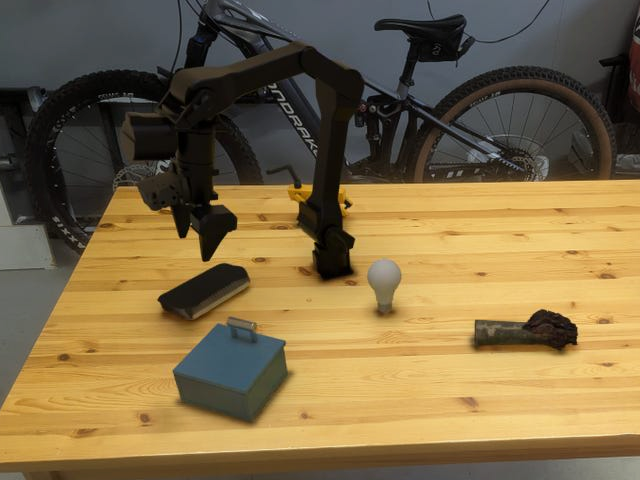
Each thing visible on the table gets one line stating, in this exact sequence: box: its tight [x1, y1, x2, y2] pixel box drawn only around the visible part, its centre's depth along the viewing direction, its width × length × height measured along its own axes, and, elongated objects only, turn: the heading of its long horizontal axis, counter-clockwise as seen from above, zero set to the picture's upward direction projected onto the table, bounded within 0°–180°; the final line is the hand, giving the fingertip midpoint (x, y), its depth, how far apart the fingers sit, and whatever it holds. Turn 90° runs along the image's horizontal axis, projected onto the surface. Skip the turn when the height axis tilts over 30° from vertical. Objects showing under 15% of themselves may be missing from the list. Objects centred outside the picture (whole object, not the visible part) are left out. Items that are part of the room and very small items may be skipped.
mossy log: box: [473, 308, 579, 352], centre depth 115 cm, size 18×7×6 cm, turn 87°
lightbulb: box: [366, 258, 402, 314], centre depth 119 cm, size 6×6×11 cm
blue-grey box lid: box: [171, 315, 287, 395], centre depth 102 cm, size 12×13×5 cm
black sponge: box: [157, 262, 251, 321], centre depth 124 cm, size 16×8×4 cm, turn 143°
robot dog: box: [265, 163, 354, 227], centre depth 143 cm, size 6×18×13 cm, turn 84°
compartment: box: [173, 347, 289, 423], centre depth 105 cm, size 12×13×6 cm
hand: (193, 249), depth 111 cm, fingers open, 9 cm apart
